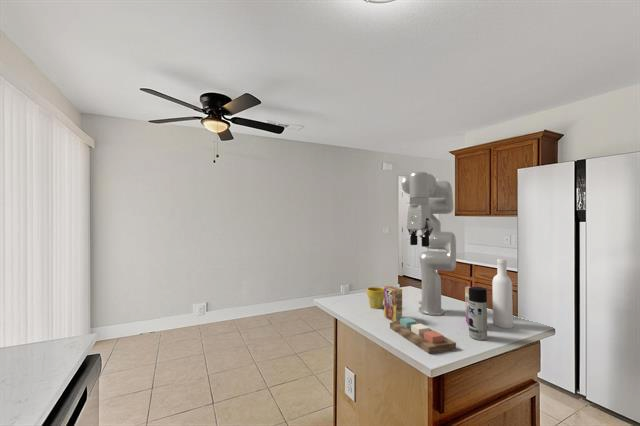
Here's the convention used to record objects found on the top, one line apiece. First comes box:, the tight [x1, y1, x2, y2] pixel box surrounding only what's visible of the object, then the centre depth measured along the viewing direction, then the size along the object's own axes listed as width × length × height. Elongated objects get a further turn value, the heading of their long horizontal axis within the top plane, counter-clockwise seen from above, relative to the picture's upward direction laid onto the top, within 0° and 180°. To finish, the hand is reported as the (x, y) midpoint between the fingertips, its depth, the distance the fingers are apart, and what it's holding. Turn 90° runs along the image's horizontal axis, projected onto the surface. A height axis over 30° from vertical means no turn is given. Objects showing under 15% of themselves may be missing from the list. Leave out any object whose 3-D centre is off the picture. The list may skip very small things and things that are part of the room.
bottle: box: [491, 258, 514, 329], centre depth 133 cm, size 8×8×30 cm
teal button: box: [400, 317, 418, 328], centre depth 126 cm, size 5×5×3 cm
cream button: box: [411, 323, 430, 336], centre depth 118 cm, size 5×5×3 cm
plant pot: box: [366, 286, 384, 309], centre depth 160 cm, size 10×10×10 cm
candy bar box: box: [464, 286, 470, 326], centre depth 132 cm, size 11×5×16 cm, turn 163°
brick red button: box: [424, 330, 444, 344], centre depth 111 cm, size 5×5×3 cm
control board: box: [389, 321, 457, 355], centre depth 118 cm, size 26×12×2 cm, turn 18°
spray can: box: [468, 286, 488, 341], centre depth 119 cm, size 7×7×20 cm
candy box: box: [383, 285, 403, 322], centre depth 141 cm, size 9×4×15 cm, turn 26°
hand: (419, 245), depth 119 cm, fingers open, 6 cm apart
